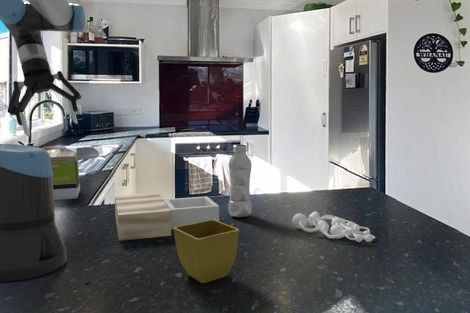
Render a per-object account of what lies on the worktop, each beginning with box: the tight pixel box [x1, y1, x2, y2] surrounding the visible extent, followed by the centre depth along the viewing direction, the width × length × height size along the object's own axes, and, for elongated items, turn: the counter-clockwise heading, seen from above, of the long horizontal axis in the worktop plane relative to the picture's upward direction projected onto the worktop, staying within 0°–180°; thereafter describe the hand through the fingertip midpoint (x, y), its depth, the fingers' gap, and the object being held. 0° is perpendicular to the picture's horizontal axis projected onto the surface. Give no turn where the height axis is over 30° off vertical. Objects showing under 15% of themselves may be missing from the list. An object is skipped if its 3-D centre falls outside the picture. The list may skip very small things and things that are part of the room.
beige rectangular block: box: [114, 192, 172, 242], centre depth 106 cm, size 22×12×6 cm, turn 18°
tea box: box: [48, 151, 81, 201], centre depth 143 cm, size 15×10×15 cm
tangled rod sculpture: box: [291, 210, 376, 243], centre depth 99 cm, size 19×14×4 cm
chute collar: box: [163, 195, 220, 231], centre depth 110 cm, size 12×12×5 cm
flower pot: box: [172, 219, 240, 284], centre depth 73 cm, size 9×9×9 cm
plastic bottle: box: [228, 144, 252, 218], centre depth 114 cm, size 6×7×20 cm
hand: (51, 128), depth 119 cm, fingers open, 13 cm apart
